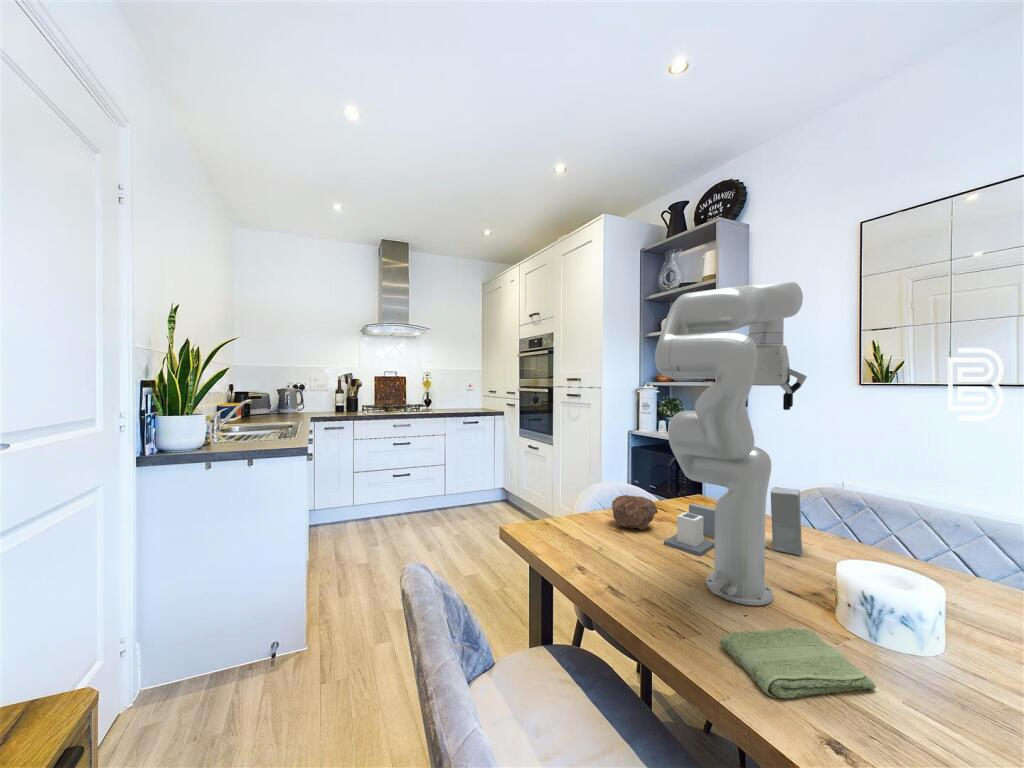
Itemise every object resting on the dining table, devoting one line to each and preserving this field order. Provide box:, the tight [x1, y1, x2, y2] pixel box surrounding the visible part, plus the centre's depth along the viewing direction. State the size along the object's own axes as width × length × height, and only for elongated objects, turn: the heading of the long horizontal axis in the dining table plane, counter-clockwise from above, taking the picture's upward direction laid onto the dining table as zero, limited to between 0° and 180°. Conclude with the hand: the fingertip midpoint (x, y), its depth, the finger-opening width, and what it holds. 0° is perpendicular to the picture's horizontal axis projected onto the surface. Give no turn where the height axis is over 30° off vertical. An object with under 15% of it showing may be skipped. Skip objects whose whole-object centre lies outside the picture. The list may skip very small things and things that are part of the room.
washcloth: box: [719, 627, 877, 700], centre depth 65 cm, size 13×18×3 cm
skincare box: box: [770, 486, 803, 557], centre depth 111 cm, size 8×7×16 cm
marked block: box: [676, 511, 704, 547], centre depth 112 cm, size 5×5×7 cm
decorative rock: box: [611, 494, 659, 531], centre depth 126 cm, size 13×11×10 cm
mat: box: [663, 533, 715, 557], centre depth 112 cm, size 10×10×1 cm
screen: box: [688, 503, 715, 540], centre depth 118 cm, size 2×13×8 cm, turn 42°
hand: (764, 408), depth 104 cm, fingers open, 9 cm apart
